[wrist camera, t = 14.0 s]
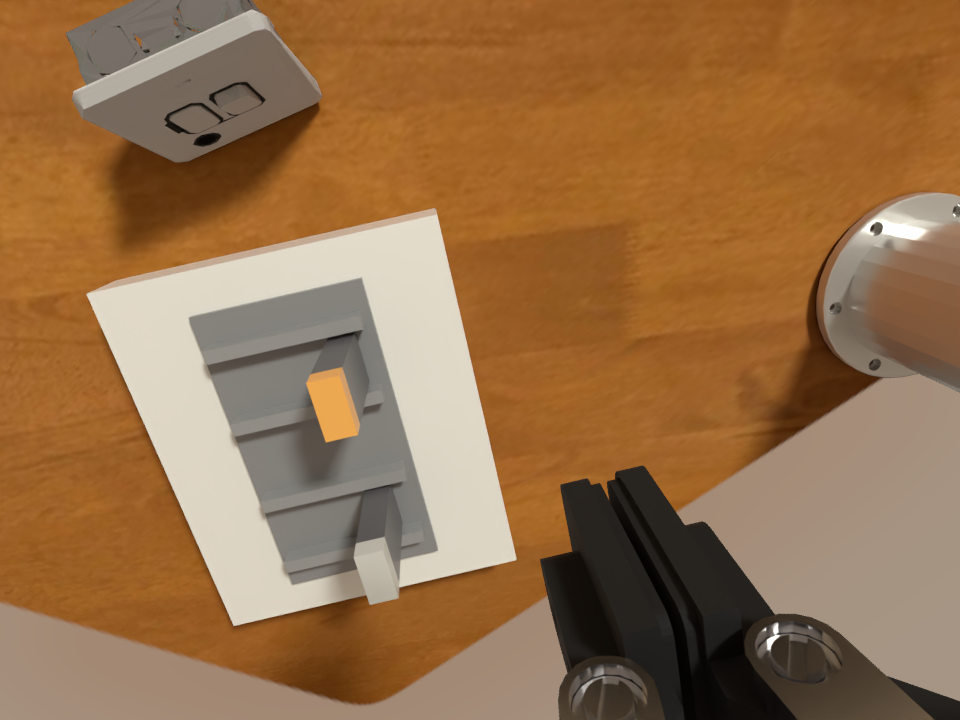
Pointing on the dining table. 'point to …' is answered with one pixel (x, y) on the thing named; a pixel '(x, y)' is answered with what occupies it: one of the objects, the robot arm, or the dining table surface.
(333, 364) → the toggle
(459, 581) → the dining table surface
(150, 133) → the electrical switch
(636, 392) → the dining table surface
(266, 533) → the lever base
